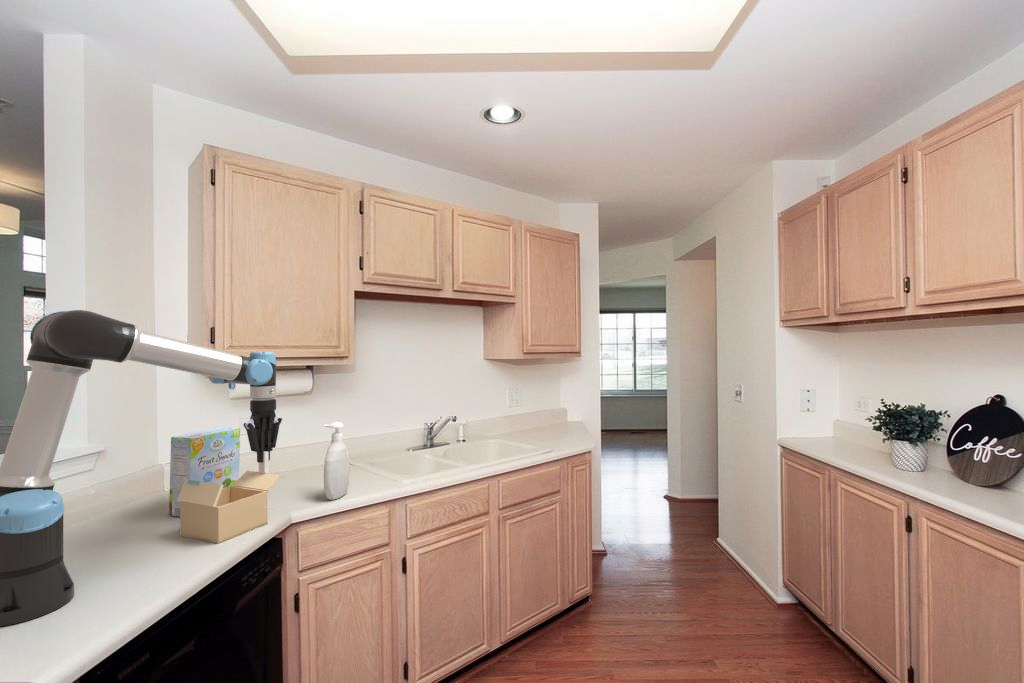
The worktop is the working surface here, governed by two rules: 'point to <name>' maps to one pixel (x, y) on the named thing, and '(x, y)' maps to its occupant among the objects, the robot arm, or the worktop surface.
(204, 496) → the flap
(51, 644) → the worktop surface
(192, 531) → the carton
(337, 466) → the soap bottle
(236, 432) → the snack box
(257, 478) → the flap
